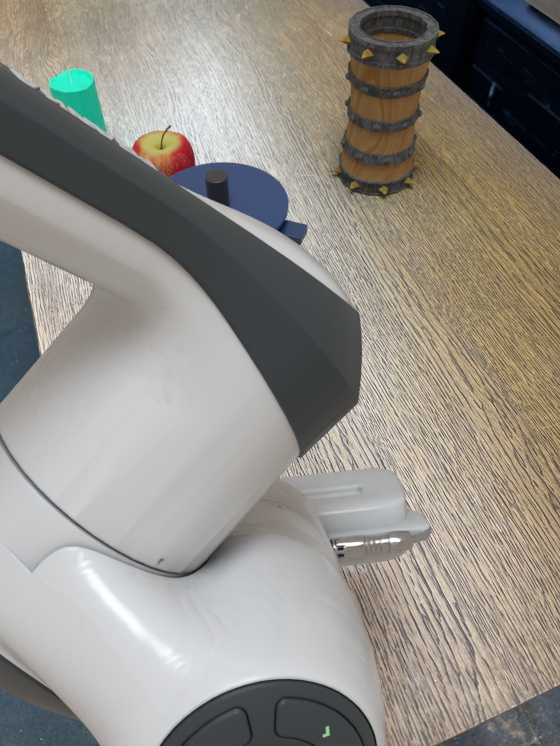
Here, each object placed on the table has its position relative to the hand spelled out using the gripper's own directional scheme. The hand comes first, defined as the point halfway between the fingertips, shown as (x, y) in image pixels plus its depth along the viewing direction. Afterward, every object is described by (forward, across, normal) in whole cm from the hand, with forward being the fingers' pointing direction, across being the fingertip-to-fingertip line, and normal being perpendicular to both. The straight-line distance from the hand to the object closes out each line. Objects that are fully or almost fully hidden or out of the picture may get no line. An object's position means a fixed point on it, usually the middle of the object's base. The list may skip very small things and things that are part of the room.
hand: (241, 485), depth 48 cm
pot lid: (+26, 0, -23) cm, 35 cm away
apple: (+46, +6, -28) cm, 55 cm away
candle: (+54, +18, -36) cm, 68 cm away
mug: (+48, -22, -30) cm, 61 cm away
